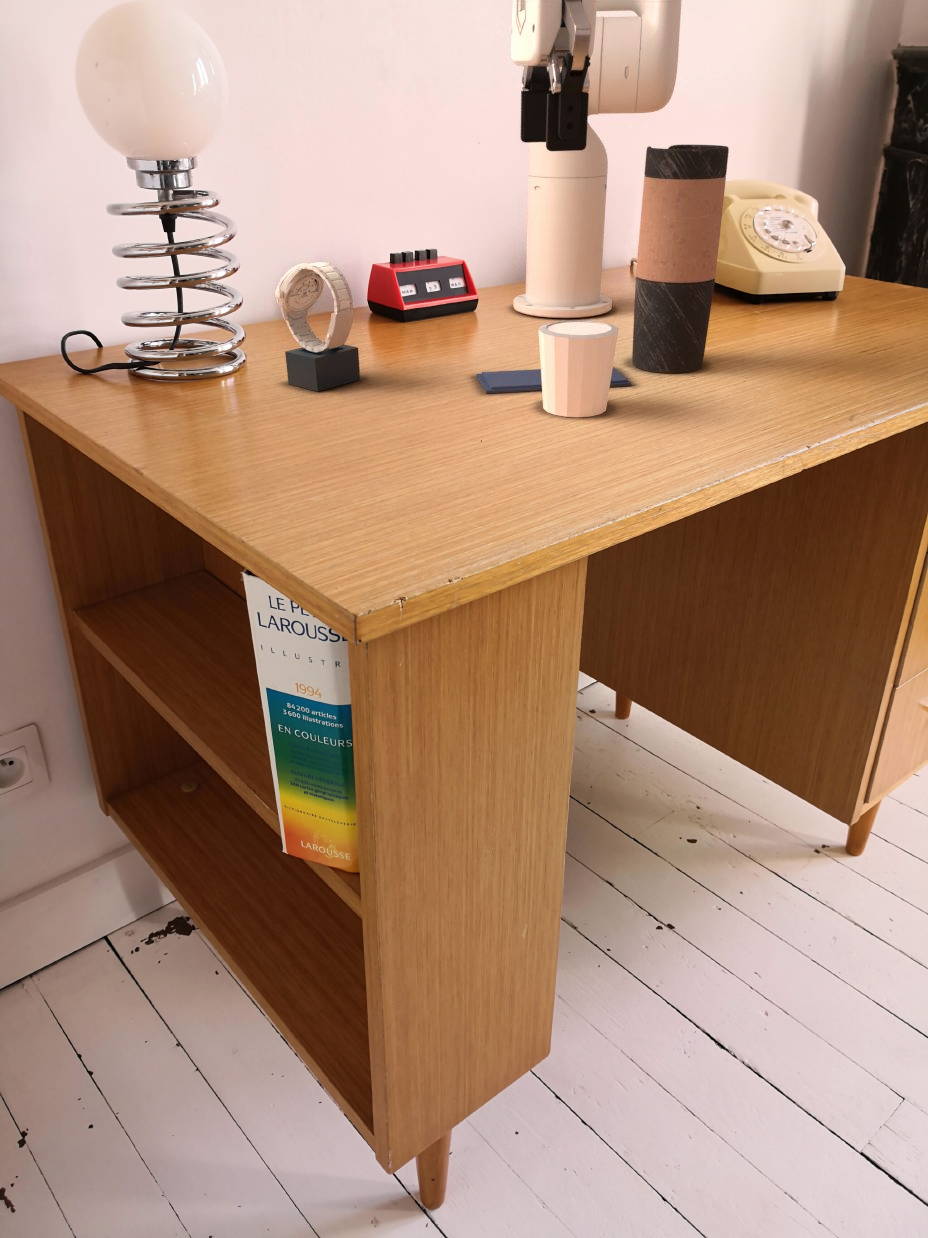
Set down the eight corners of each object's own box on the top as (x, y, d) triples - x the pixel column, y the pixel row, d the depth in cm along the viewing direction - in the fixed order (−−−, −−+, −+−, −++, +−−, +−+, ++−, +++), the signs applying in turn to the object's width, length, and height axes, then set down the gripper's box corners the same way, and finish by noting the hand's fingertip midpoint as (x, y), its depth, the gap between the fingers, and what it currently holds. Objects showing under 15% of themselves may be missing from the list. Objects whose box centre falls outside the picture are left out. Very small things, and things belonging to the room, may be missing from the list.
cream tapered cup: (583, 424, 80) (587, 340, 77) (520, 408, 84) (522, 328, 81) (628, 406, 85) (635, 326, 81) (567, 392, 89) (570, 315, 85)
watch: (318, 368, 97) (308, 255, 92) (372, 382, 92) (365, 263, 87) (274, 380, 93) (262, 262, 88) (329, 395, 89) (319, 271, 83)
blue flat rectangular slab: (476, 376, 94) (476, 371, 94) (613, 369, 96) (613, 364, 95) (486, 393, 89) (486, 387, 88) (630, 385, 90) (631, 380, 90)
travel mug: (705, 375, 93) (732, 148, 83) (627, 372, 95) (644, 148, 85) (704, 356, 100) (728, 144, 90) (631, 353, 101) (647, 144, 91)
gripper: (489, -93, 78) (489, 139, 87) (535, -129, 63) (530, 155, 72) (577, -92, 79) (569, 137, 88) (643, -128, 64) (625, 152, 73)
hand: (551, 145), depth 80 cm, fingers open, 9 cm apart
